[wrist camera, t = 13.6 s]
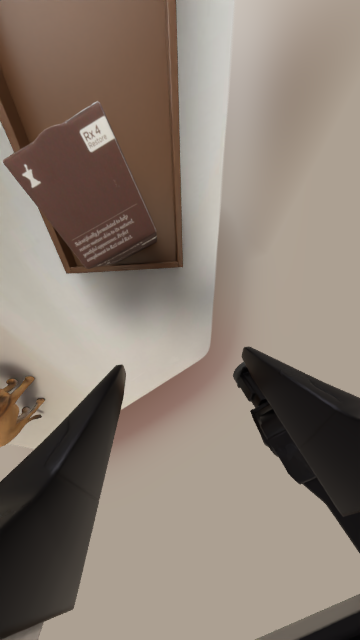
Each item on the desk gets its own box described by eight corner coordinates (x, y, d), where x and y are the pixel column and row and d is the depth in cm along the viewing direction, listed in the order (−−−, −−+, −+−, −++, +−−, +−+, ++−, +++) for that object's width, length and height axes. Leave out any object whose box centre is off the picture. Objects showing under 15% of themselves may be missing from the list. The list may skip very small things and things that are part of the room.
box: (114, 264, 16) (84, 272, 9) (76, 205, 13) (-6, 158, 6) (158, 241, 15) (158, 232, 9) (128, 175, 12) (97, 93, 6)
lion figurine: (-16, 363, 20) (-133, 436, 12) (24, 360, 21) (-59, 427, 13) (29, 415, 26) (-26, 484, 18) (58, 411, 27) (18, 476, 19)
